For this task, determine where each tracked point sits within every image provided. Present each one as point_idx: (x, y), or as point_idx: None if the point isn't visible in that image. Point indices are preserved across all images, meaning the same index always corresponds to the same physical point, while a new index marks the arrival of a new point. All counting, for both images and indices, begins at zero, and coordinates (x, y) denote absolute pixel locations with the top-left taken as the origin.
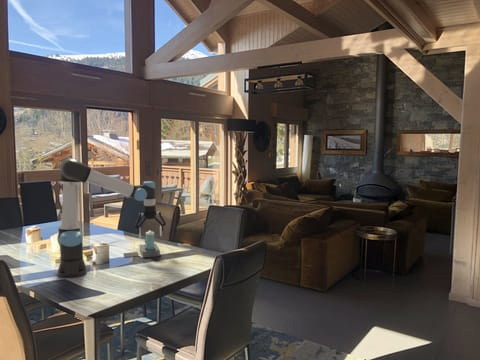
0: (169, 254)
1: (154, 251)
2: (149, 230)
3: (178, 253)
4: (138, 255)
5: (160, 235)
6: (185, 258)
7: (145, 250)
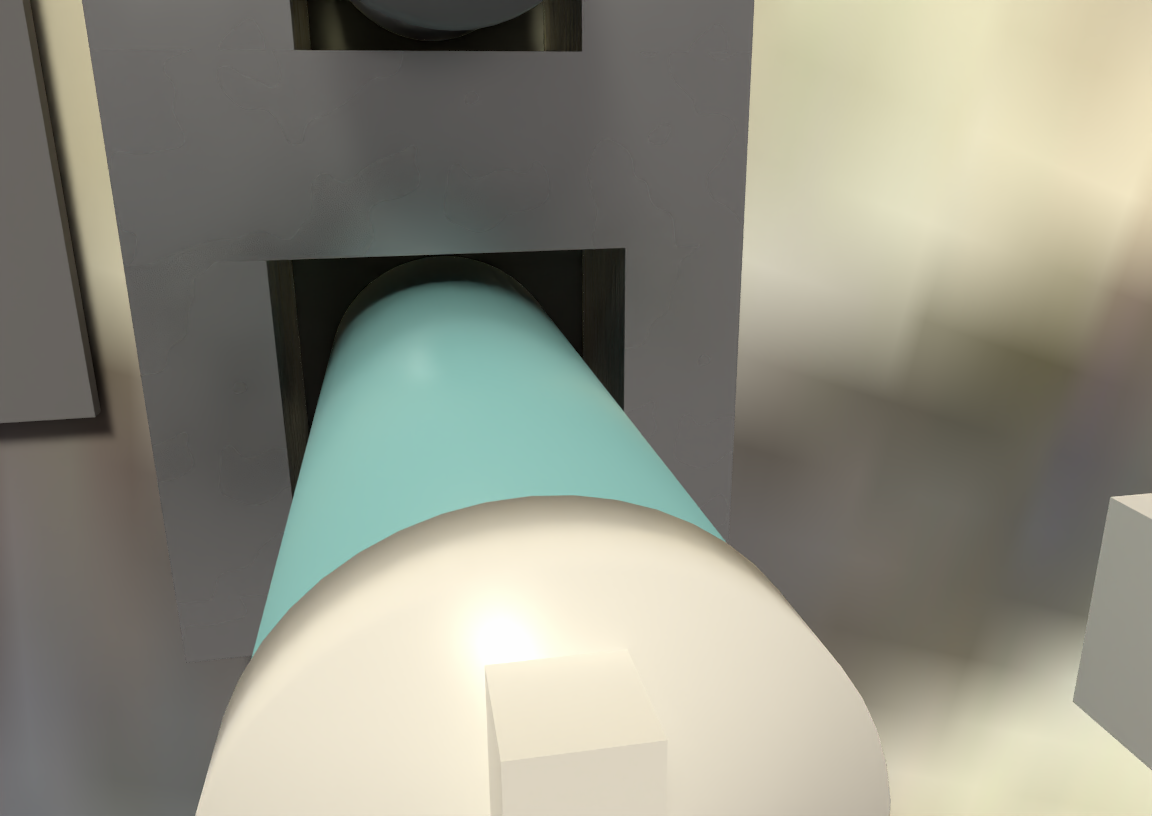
0: (913, 427)
1: None
2: (577, 812)
3: (1117, 404)
4: (82, 391)
5: (1102, 639)
6: (1103, 764)
7: None
